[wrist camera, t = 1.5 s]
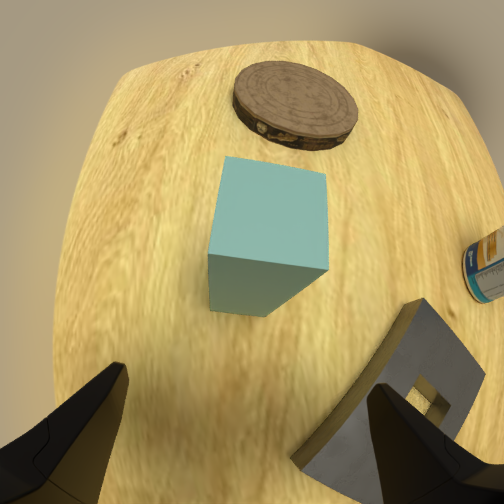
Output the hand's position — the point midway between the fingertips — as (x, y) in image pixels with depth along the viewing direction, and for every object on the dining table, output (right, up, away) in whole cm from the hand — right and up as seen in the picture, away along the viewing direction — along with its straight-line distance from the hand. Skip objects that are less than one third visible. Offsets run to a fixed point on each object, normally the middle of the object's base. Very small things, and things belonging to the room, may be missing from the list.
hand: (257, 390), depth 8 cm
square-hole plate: (+14, -11, +11) cm, 21 cm away
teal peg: (-1, +2, +14) cm, 14 cm away
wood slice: (+5, +23, +24) cm, 34 cm away
